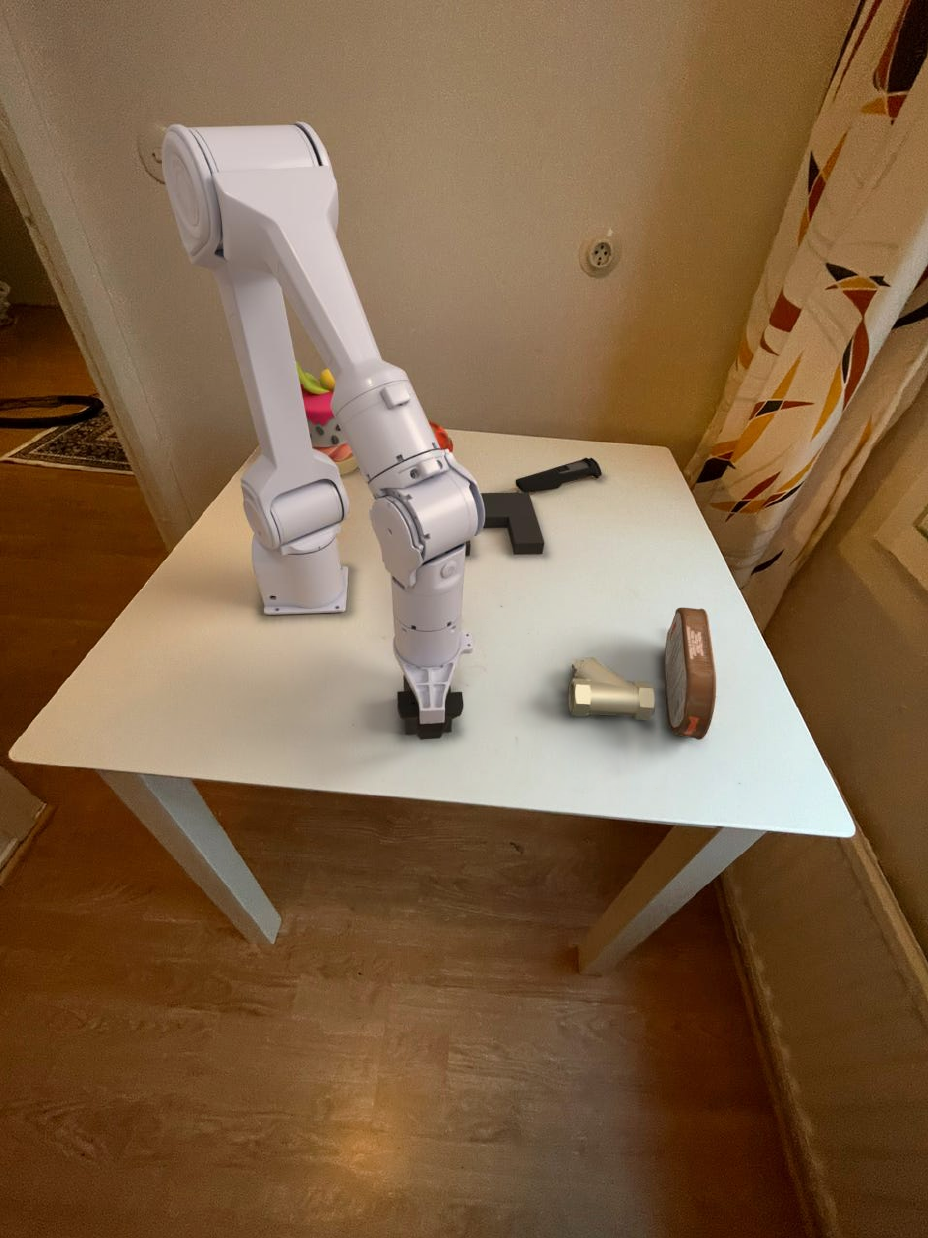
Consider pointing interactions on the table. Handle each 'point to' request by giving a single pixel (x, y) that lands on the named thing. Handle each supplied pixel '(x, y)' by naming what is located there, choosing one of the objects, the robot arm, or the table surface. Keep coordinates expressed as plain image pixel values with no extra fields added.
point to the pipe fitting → (607, 693)
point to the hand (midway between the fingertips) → (427, 702)
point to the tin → (690, 674)
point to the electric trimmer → (559, 476)
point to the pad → (408, 726)
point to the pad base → (513, 521)
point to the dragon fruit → (441, 436)
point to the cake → (324, 419)
